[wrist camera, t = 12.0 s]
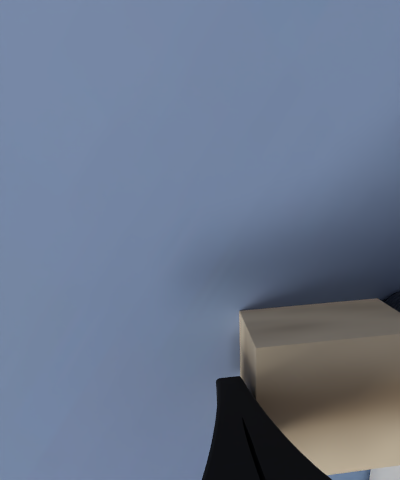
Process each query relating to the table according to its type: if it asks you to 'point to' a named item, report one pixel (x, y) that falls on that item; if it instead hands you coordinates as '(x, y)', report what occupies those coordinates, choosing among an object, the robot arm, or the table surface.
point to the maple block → (328, 379)
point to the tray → (385, 473)
